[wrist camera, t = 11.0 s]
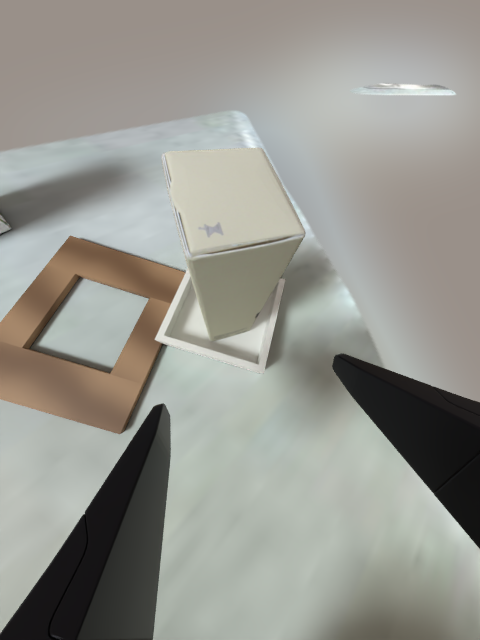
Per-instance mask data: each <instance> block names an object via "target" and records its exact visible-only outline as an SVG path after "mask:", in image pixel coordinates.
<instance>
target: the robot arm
mask: <svg viewBox="0 0 480 640" xmlns="http://www.w3.org/2000/svg"><path fill="white" fill-rule="evenodd" d="M332 367H333V370H334V372H335V373H336V375H337V376H338V377H339V379H340V380H341V382H342V383H343V385H344V386H345V387H346V389H347V390H348V392H349V393H350V394H351V396H352V397H353V398H354V399H355V401H356V402H357V403H358V404H359V405H360V407H361V408H362V409H363V410H364V411H365V412H366V414H367V415H368V416H369V417H370V418H371V420H372V421H373V422H374V423H375V424H376V426H377V427H378V428H379V429H380V430H381V432H382V433H383V434H384V435H385V436H386V437H387V439H388V440H389V441H390V442H391V443H392V445H393V446H394V447H395V448H396V449H397V451H398V452H399V453H400V454H401V455H402V457H403V458H404V459H405V460H406V461H407V463H408V464H409V465H410V466H411V467H412V468H413V470H414V471H415V472H416V473H417V474H418V476H419V477H420V478H421V479H422V480H423V482H424V483H425V484H426V485H427V486H428V488H429V489H430V490H431V491H432V492H433V493H434V495H435V496H436V497H437V498H438V500H439V501H440V502H441V503H442V504H443V506H444V507H445V508H446V509H447V510H448V512H449V513H450V514H451V515H452V516H453V517H454V519H455V520H456V521H457V522H458V523H459V525H460V526H461V527H462V528H463V529H464V531H465V532H466V533H467V534H468V535H469V537H470V538H471V539H472V540H473V541H474V543H475V544H476V545H477V546H478V547H479V548H480V402H477V401H473V400H470V399H467V398H464V397H461V396H458V395H456V394H452V393H450V392H447V391H444V390H442V389H439V388H436V387H432V386H431V385H428V384H425V383H422V382H419V381H417V380H414V379H411V378H409V377H406V376H403V375H401V374H398V373H395V372H392V371H390V370H387V369H384V368H381V367H379V366H376V365H373V364H370V363H368V362H365V361H362V360H360V359H357V358H354V357H351V356H349V355H346V354H338V355H335V357H334V361H333V365H332ZM170 451H171V448H170V414H169V412H168V410H167V408H166V406H165V404H159V405H156V406H154V407H153V408H152V410H151V411H150V413H149V415H148V416H147V418H146V419H145V421H144V422H143V424H142V425H141V427H140V428H139V430H138V431H137V433H136V434H135V436H134V437H133V439H132V441H131V442H130V444H129V445H128V447H127V448H126V450H125V451H124V453H123V454H122V456H121V457H120V459H119V460H118V462H117V464H116V465H115V467H114V468H113V470H112V471H111V473H110V474H109V476H108V477H107V479H106V480H105V482H104V483H103V485H102V486H101V488H100V490H99V491H98V493H97V494H96V496H95V497H94V499H93V500H92V502H91V503H90V505H89V506H88V508H87V509H86V511H85V514H84V515H83V516H82V517H81V518H80V520H79V522H78V523H77V525H76V526H75V528H74V529H73V531H72V532H71V534H70V535H69V537H68V538H67V540H66V541H65V543H64V544H63V546H62V547H61V549H60V550H59V552H58V553H57V555H56V556H55V558H54V559H53V560H52V562H51V563H50V565H49V566H48V568H47V569H46V570H45V572H44V573H43V575H42V576H41V578H40V579H39V580H38V582H37V583H36V585H35V586H34V587H33V589H32V590H31V592H30V593H29V594H28V596H27V597H26V599H25V600H24V601H23V603H22V604H21V606H20V607H19V608H18V610H17V611H16V612H15V614H14V615H13V617H12V618H11V619H10V621H9V622H8V624H7V625H6V626H5V628H4V629H3V630H2V632H1V633H0V640H153V632H154V622H155V612H156V601H157V591H158V581H159V571H160V560H161V550H162V540H163V529H164V519H165V509H166V499H167V488H168V478H169V468H170Z"/></svg>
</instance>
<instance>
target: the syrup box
mask: <svg viewBox="0 0 480 640" xmlns="http://www.w3.org/2000/svg"><path fill="white" fill-rule="evenodd" d="M10 229H11V227H10V225H9V224H8V223H7V221H6V220H5V219H4V217H3V216H2V215H1V214H0V234H1V233H3V232H5V231H8V230H10Z"/></svg>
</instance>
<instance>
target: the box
mask: <svg viewBox="0 0 480 640" xmlns="http://www.w3.org/2000/svg"><path fill="white" fill-rule="evenodd" d="M162 165H163V171H164V175H165V180H166V185H167V190H168V194H169V198H170V202H171V206H172V210H173V214H174V218H175V222H176V226H177V230H178V233H179V237H180V241H181V244H182V248H183V252H184V255H185V259H186V262H187V266H188V269H189V273H190V276H191V280H192V283H193V287H194V290H195V293H196V296H197V300H198V303H199V306H200V310H201V313H202V316H203V319H204V322H205V325H206V329H207V332H208V335H209V339H210V341H216V340H220V339H224V338H227V337H231V336H234V335H238V334H241V333H244V332H247V331H249V330H250V329H251V327H252V325H253V324H254V322H255V320H256V318H257V317H258V315H259V313H260V311H261V310H262V308H263V307H264V305H265V303H266V301H267V300H268V298H269V296H270V295H271V293H272V291H273V289H274V288H275V286H276V284H277V283H278V281H279V279H280V278H281V276H282V274H283V273H284V271H285V269H286V267H287V266H288V264H289V262H290V261H291V259H292V257H293V256H294V254H295V252H296V250H297V249H298V247H299V245H300V243H301V242H302V240H303V238H304V237H305V230H304V228H303V226H302V224H301V222H300V220H299V218H298V215H297V213H296V211H295V209H294V207H293V205H292V203H291V201H290V199H289V197H288V195H287V193H286V191H285V189H284V187H283V185H282V183H281V181H280V179H279V177H278V175H277V174H276V172H275V170H274V168H273V166H272V165H271V163H270V161H269V159H268V157H267V156H266V154H265V152H264V150H263V149H262V148H237V149H217V150H189V151H169V152H166V153H163V154H162Z"/></svg>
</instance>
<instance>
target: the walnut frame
mask: <svg viewBox="0 0 480 640" xmlns="http://www.w3.org/2000/svg"><path fill="white" fill-rule="evenodd" d="M184 275H185V272H182V271H179V270H176V269H173V268H170V267H167V266H164V265H160V264H157V263H154V262H151V261H148V260H145V259H142V258H138V257H135V256H132V255H129V254H126V253H123V252H120V251H117V250H113V249H110V248H107V247H104V246H101V245H98V244H95V243H91V242H88V241H85V240H82V239H79V238H76V237H73V236H69V238H68V239H67V240H66V241H65V243H64V244H63V245H62V246H61V248H60V249H59V250H58V251H57V253H56V254H55V255H54V256H53V258H52V259H51V260H50V261H49V263H48V264H47V265H46V266H45V268H44V269H43V270H42V271H41V273H40V274H39V275H38V276H37V278H36V279H35V280H34V281H33V283H32V284H31V285H30V286H29V288H28V289H27V290H26V291H25V293H24V294H23V295H22V296H21V298H20V299H19V300H18V301H17V302H16V304H15V305H14V306H13V307H12V309H11V310H10V311H9V312H8V314H7V315H6V316H5V317H4V319H3V320H2V321H1V322H0V399H2V400H5V401H9V402H12V403H15V404H19V405H22V406H26V407H29V408H32V409H36V410H39V411H43V412H46V413H49V414H53V415H56V416H60V417H63V418H66V419H70V420H73V421H77V422H80V423H83V424H87V425H90V426H94V427H97V428H100V429H104V430H107V431H111V432H114V433H118V434H121V433H123V432H124V430H125V428H126V426H127V424H128V421H129V419H130V417H131V415H132V412H133V410H134V408H135V406H136V403H137V401H138V399H139V397H140V394H141V392H142V390H143V388H144V385H145V383H146V381H147V379H148V376H149V374H150V372H151V370H152V367H153V365H154V363H155V361H156V358H157V356H158V354H159V352H160V349H161V347H162V345H163V344H162V343H160V342H158V341H156V340H155V337H156V335H157V333H158V331H159V329H160V327H161V325H162V322H163V320H164V318H165V316H166V314H167V312H168V310H169V307H170V305H171V303H172V301H173V299H174V297H175V295H176V292H177V290H178V288H179V286H180V284H181V282H182V280H183V277H184ZM79 277H82V278H85V279H89V280H92V281H95V282H98V283H101V284H104V285H108V286H111V287H114V288H117V289H120V290H124V291H127V292H130V293H133V294H136V295H140V296H143V297H146V298H149V300H148V302H147V304H146V306H145V308H144V310H143V312H142V314H141V316H140V318H139V319H138V321H137V323H136V325H135V327H134V329H133V331H132V333H131V335H130V337H129V339H128V341H127V343H126V344H125V346H124V348H123V350H122V352H121V354H120V356H119V358H118V360H117V362H116V364H115V366H114V368H113V370H112V371H111V373H108V372H104V371H101V370H98V369H94V368H91V367H88V366H85V365H81V364H78V363H75V362H71V361H68V360H65V359H61V358H58V357H55V356H51V355H48V354H45V353H41V352H38V351H35V350H32V349H29V348H30V347H31V345H32V344H33V342H34V341H35V340H36V338H37V337H38V335H39V334H40V333H41V331H42V330H43V328H44V327H45V325H46V324H47V323H48V321H49V320H50V318H51V317H52V315H53V314H54V313H55V311H56V310H57V308H58V307H59V306H60V304H61V303H62V301H63V300H64V298H65V297H66V296H67V294H68V293H69V291H70V290H71V289H72V287H73V286H74V284H75V283H76V281H77V280H78V279H79Z"/></svg>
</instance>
